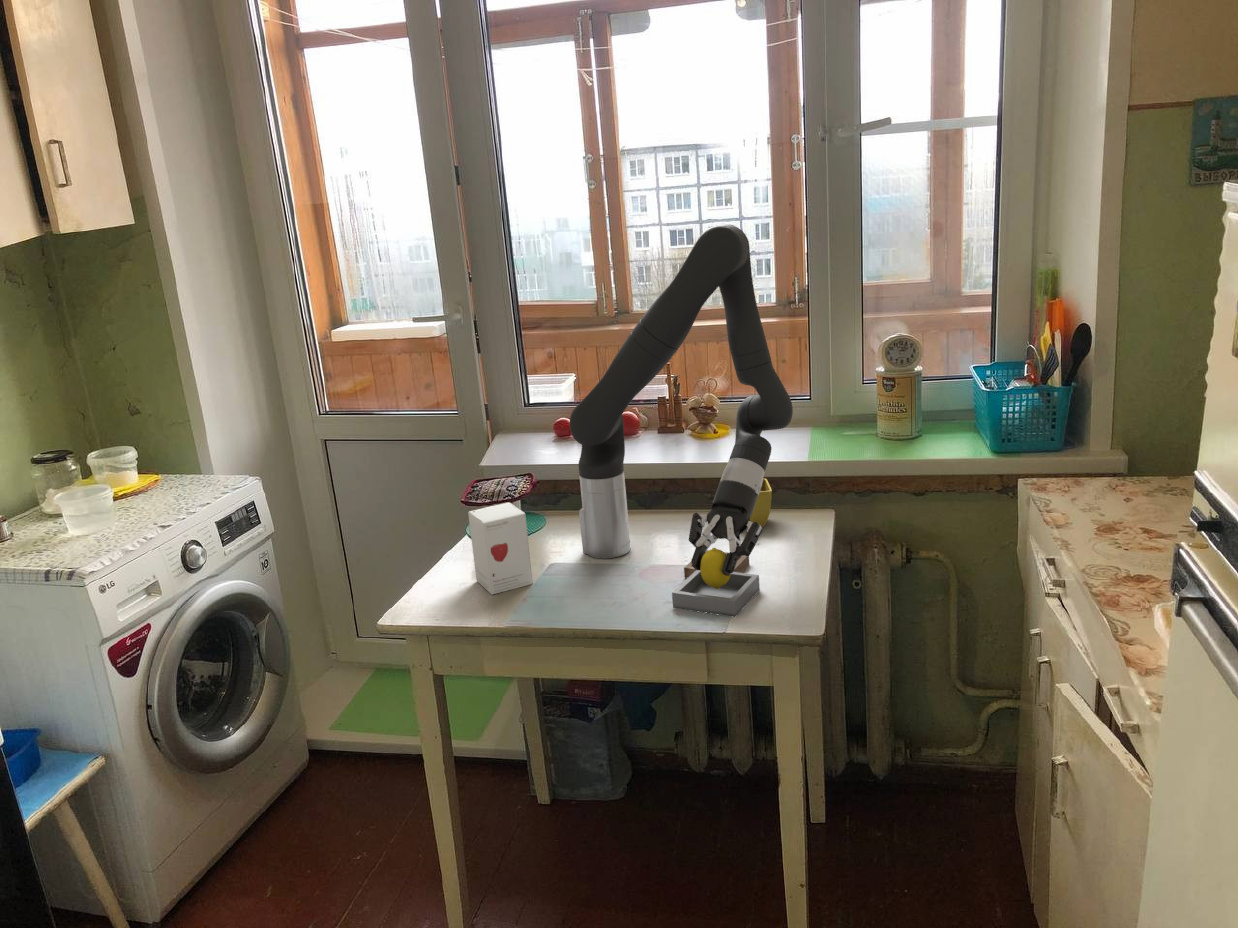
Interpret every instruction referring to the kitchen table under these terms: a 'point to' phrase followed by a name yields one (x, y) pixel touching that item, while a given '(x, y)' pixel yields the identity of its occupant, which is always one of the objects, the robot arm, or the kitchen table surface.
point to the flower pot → (762, 504)
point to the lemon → (713, 568)
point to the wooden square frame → (741, 562)
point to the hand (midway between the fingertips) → (710, 570)
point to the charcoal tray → (716, 594)
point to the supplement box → (500, 547)
